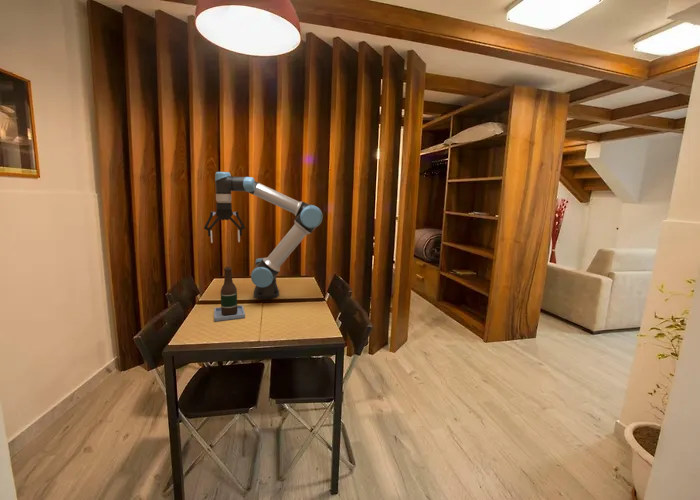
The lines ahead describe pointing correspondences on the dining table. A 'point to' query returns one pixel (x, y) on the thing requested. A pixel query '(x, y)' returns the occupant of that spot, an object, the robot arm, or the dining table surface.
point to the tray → (239, 315)
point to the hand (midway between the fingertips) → (225, 242)
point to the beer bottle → (228, 294)
